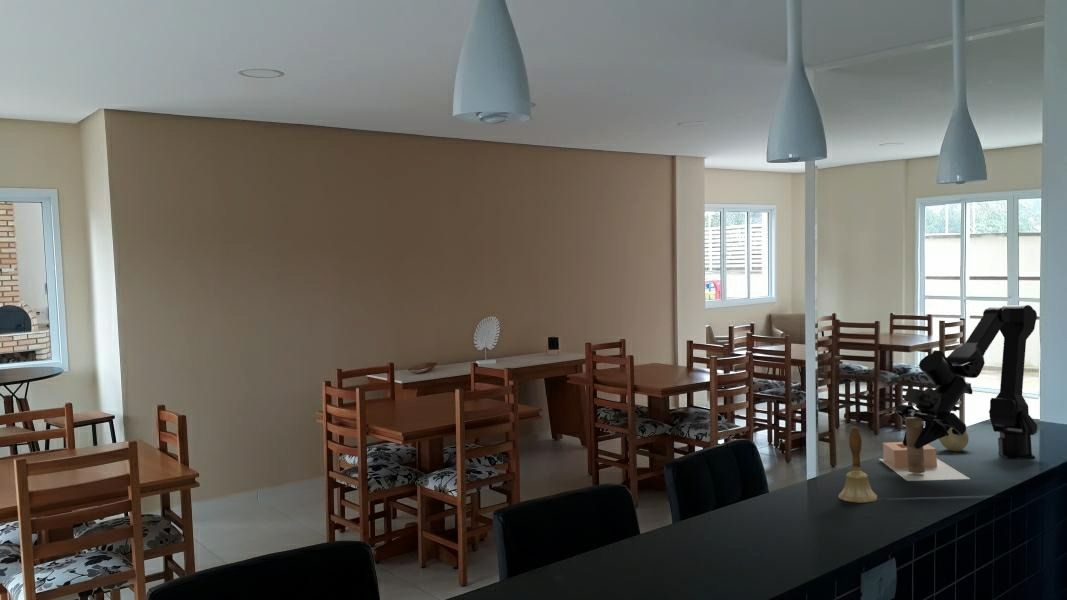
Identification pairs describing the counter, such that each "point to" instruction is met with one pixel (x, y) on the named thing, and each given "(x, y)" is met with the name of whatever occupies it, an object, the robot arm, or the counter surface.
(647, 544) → the counter surface
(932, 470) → the collar plate
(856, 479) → the hand bell
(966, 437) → the potato
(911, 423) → the walnut peg
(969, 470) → the counter surface
